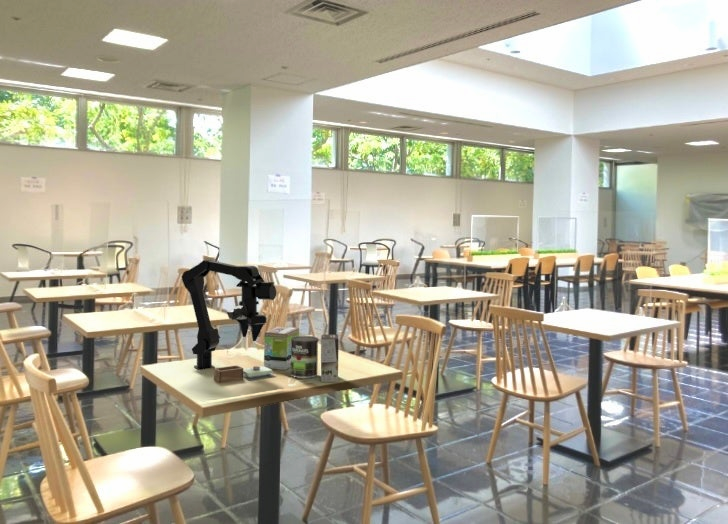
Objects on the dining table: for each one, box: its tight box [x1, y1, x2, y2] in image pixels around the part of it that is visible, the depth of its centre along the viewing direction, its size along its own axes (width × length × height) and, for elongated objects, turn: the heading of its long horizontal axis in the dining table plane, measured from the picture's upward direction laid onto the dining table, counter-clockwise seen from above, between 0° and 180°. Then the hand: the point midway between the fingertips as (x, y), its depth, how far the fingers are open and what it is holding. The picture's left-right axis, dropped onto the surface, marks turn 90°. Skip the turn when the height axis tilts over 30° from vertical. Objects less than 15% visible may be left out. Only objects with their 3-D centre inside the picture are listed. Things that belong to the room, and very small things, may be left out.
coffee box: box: [320, 333, 340, 383], centre depth 220 cm, size 9×6×16 cm
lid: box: [243, 365, 274, 378], centre depth 221 cm, size 7×10×3 cm
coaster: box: [243, 373, 277, 382], centre depth 221 cm, size 11×11×1 cm
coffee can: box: [290, 335, 319, 379], centre depth 226 cm, size 10×10×14 cm
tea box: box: [263, 326, 300, 371], centre depth 241 cm, size 15×10×15 cm, turn 168°
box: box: [213, 364, 244, 384], centre depth 215 cm, size 5×9×5 cm, turn 125°
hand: (249, 339), depth 229 cm, fingers open, 9 cm apart
